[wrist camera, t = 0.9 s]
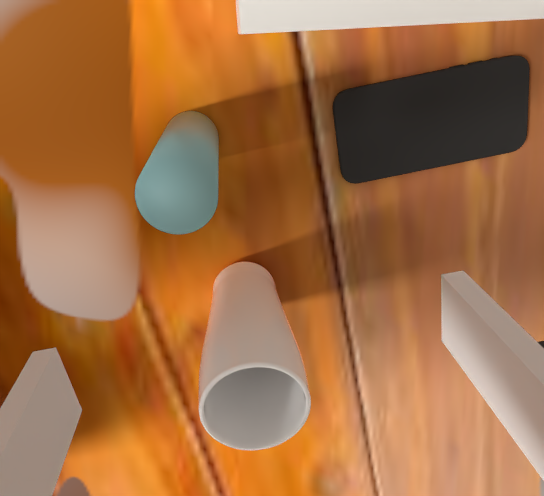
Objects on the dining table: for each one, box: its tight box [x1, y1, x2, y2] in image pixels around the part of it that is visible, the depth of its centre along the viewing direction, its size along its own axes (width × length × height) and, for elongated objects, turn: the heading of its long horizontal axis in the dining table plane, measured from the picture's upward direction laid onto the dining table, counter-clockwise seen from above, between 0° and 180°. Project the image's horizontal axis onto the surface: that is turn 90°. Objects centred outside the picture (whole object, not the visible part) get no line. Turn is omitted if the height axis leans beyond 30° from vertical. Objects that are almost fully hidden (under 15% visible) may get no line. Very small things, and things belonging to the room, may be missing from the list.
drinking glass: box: [199, 262, 311, 450], centre depth 35 cm, size 7×7×15 cm
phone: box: [333, 56, 529, 183], centre depth 38 cm, size 7×1×15 cm
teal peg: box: [135, 111, 219, 234], centre depth 30 cm, size 4×4×14 cm
